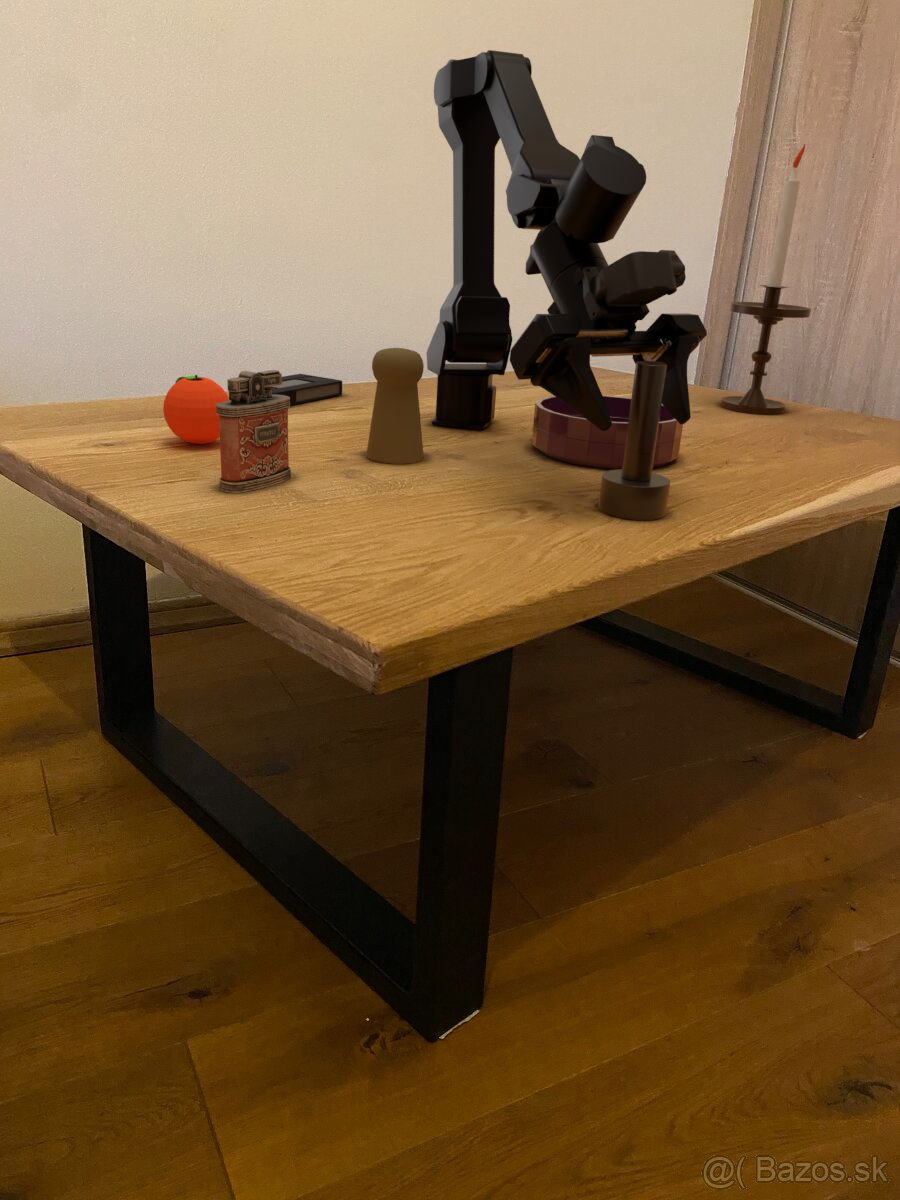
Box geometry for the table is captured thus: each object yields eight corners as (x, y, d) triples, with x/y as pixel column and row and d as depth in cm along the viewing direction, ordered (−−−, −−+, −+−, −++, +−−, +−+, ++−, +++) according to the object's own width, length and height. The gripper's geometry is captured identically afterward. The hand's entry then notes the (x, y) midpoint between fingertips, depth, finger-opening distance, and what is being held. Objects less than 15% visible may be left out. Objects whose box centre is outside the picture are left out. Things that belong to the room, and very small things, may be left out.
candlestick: (798, 408, 138) (850, 147, 124) (780, 419, 129) (833, 139, 116) (726, 398, 143) (768, 146, 129) (704, 407, 134) (747, 139, 121)
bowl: (522, 461, 98) (526, 414, 96) (541, 431, 113) (545, 389, 111) (677, 477, 95) (684, 429, 93) (677, 444, 110) (683, 402, 108)
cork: (431, 454, 99) (436, 348, 95) (411, 466, 94) (415, 355, 89) (379, 447, 101) (382, 343, 96) (356, 458, 95) (358, 349, 91)
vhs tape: (342, 395, 128) (343, 380, 127) (273, 409, 116) (273, 393, 115) (300, 388, 131) (300, 373, 130) (229, 400, 120) (228, 385, 119)
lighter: (238, 495, 81) (234, 379, 77) (210, 487, 83) (205, 374, 79) (299, 477, 88) (298, 369, 84) (272, 470, 89) (270, 365, 85)
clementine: (147, 439, 98) (142, 371, 96) (203, 431, 103) (200, 366, 100) (189, 454, 93) (185, 382, 91) (246, 445, 98) (244, 377, 95)
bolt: (595, 515, 81) (613, 364, 76) (600, 497, 87) (617, 355, 82) (665, 523, 80) (688, 371, 75) (665, 505, 86) (687, 361, 81)
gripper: (542, 207, 73) (619, 371, 69) (707, 219, 83) (785, 364, 78) (479, 302, 82) (544, 452, 78) (635, 303, 92) (701, 437, 87)
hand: (648, 424), depth 80 cm, fingers open, 9 cm apart
